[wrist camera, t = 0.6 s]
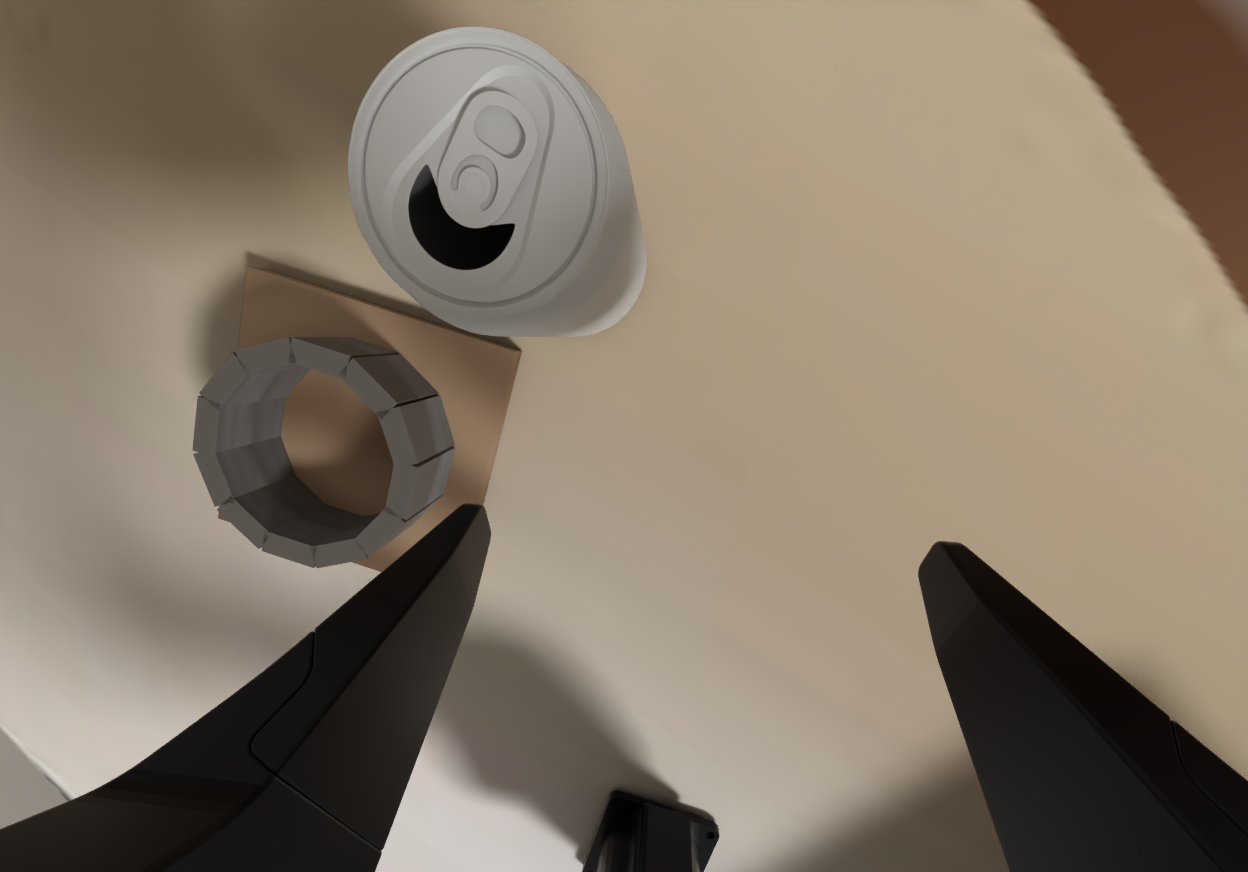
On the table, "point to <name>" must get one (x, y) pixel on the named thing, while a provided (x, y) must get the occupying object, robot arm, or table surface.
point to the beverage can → (497, 188)
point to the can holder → (347, 424)
